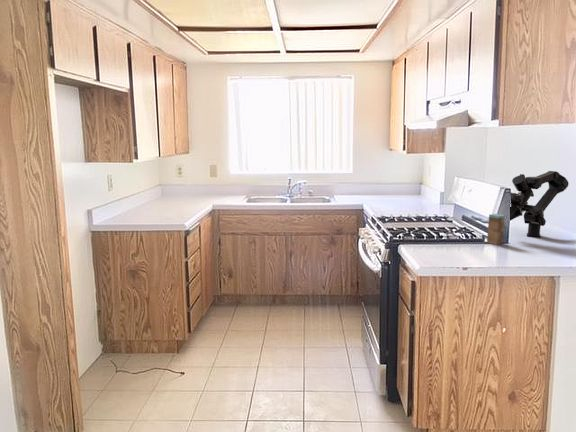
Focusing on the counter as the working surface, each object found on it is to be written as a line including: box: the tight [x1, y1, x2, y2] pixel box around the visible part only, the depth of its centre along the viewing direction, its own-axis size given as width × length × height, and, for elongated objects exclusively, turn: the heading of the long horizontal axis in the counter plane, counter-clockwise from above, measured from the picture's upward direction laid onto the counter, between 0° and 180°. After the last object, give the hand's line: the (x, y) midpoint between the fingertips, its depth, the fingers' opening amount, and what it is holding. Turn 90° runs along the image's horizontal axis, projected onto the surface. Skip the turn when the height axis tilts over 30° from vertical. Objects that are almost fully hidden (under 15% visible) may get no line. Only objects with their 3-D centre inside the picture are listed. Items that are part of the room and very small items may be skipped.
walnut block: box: [486, 213, 506, 246], centre depth 242 cm, size 5×5×14 cm
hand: (507, 221), depth 246 cm, fingers closed
